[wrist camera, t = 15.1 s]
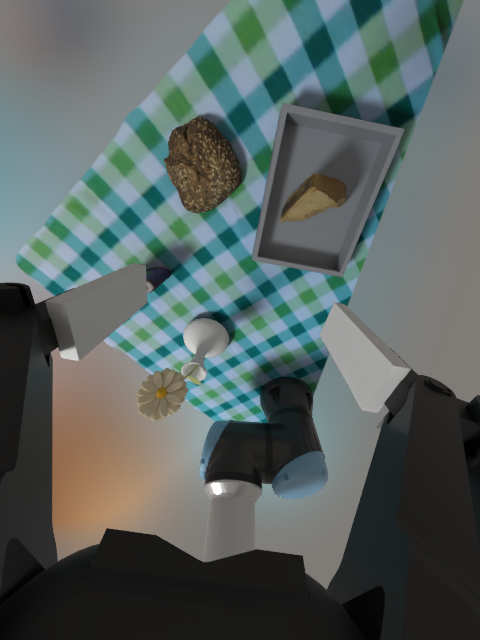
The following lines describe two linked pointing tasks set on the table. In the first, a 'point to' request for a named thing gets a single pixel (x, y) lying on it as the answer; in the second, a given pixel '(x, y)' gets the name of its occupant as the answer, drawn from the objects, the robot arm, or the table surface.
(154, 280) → the flask
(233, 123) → the table surface
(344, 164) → the bin
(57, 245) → the table surface
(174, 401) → the flower in vase
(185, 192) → the bread roll
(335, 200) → the rock
